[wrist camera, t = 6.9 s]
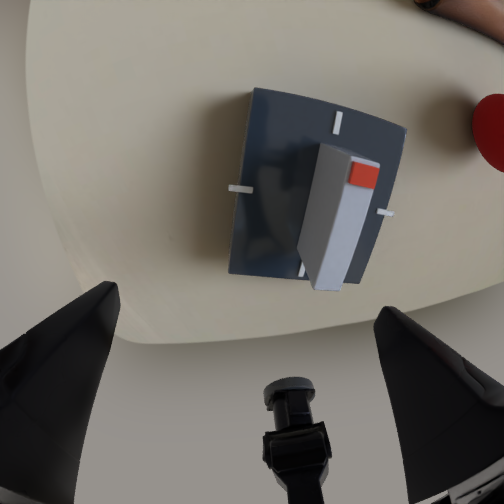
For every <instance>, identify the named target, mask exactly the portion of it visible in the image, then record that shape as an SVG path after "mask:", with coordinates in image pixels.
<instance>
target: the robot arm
mask: <svg viewBox="0 0 504 504" xmlns="http://www.w3.org/2000/svg"><path fill="white" fill-rule="evenodd" d="M119 312H120V298H119V291H118V286H117V284H116V283H115V282H110V281H104V282H102V283H100V284H99V285H97V286H95V287H94V288H92V289H91V290H89V291H87V292H86V293H84V294H83V295H81V296H80V297H78V298H76V299H75V300H73V301H72V302H70V303H69V304H67V305H66V306H64V307H63V308H61V309H59V310H58V311H57V312H55V313H53V314H52V315H50V316H49V317H48V318H46V319H45V320H43V321H42V322H40V323H39V324H37V325H36V326H34V327H33V328H31V329H30V330H28V331H27V332H26V334H23V335H21V336H20V337H19V338H17V339H16V340H14V341H13V342H11V343H10V344H8V345H7V346H5V347H4V348H3V349H1V350H0V504H74V495H75V488H76V482H77V475H78V470H79V464H80V461H79V460H80V458H81V453H82V448H83V444H84V439H85V435H86V430H87V426H88V422H89V418H90V414H91V410H92V407H93V403H94V400H95V396H96V393H97V389H98V386H99V383H100V380H101V376H102V373H103V370H104V367H105V364H106V361H107V358H108V355H109V352H110V348H111V344H112V340H113V336H114V332H115V327H116V323H117V319H118V315H119ZM374 333H375V338H376V343H377V348H378V353H379V359H380V364H381V367H382V371H383V375H384V379H385V382H386V386H387V389H388V394H389V397H390V401H391V405H392V409H393V414H394V418H395V423H396V427H397V432H398V437H399V442H400V447H401V452H402V458H403V465H404V471H405V478H406V485H407V493H408V501H409V504H415V503H417V502H420V501H423V500H425V499H428V498H430V497H432V496H435V495H437V494H439V493H441V492H444V491H446V490H448V494H446V495H445V496H443V497H441V498H440V499H438V500H436V501H435V502H433V503H431V504H504V386H503V385H501V384H500V383H499V382H497V381H496V380H494V379H493V378H491V377H490V376H489V375H487V374H486V373H484V372H483V371H481V370H480V369H478V368H477V367H476V366H474V365H473V364H472V363H470V362H469V361H467V360H466V359H465V358H464V357H462V356H461V355H460V354H458V353H457V352H456V351H454V350H453V349H452V348H450V347H449V346H448V345H446V344H445V343H444V342H442V341H441V340H440V339H438V338H437V337H436V336H434V335H433V334H432V333H430V332H429V331H427V330H426V329H425V328H423V327H422V326H421V325H419V324H417V323H416V322H415V321H414V320H412V319H411V318H409V317H408V316H406V315H405V314H404V313H402V312H401V311H400V310H398V309H397V308H395V307H393V306H385V307H383V308H382V309H381V311H380V313H379V315H378V317H377V319H376V321H375V323H374ZM314 393H315V389H290V390H275V391H274V392H273V394H272V396H271V399H270V401H269V403H268V406H267V411H273V413H274V420H275V428H276V431H272V432H265V436H263V461H264V462H266V463H267V465H268V468H269V469H272V470H273V473H274V476H275V478H276V480H277V483H278V484H279V485H280V486H281V487H282V488H283V489H284V490H285V491H286V492H287V494H288V504H324V501H323V495H322V490H321V487H322V485H323V483H324V481H325V479H326V477H327V475H328V459H330V458H332V452H331V447H330V442H329V438H328V435H327V431H326V428H325V424H324V421H322V422H320V423H315V424H314V422H313V417H312V413H311V409H310V404H309V401H310V400H311V398H312V396H313V395H314Z"/></svg>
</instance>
